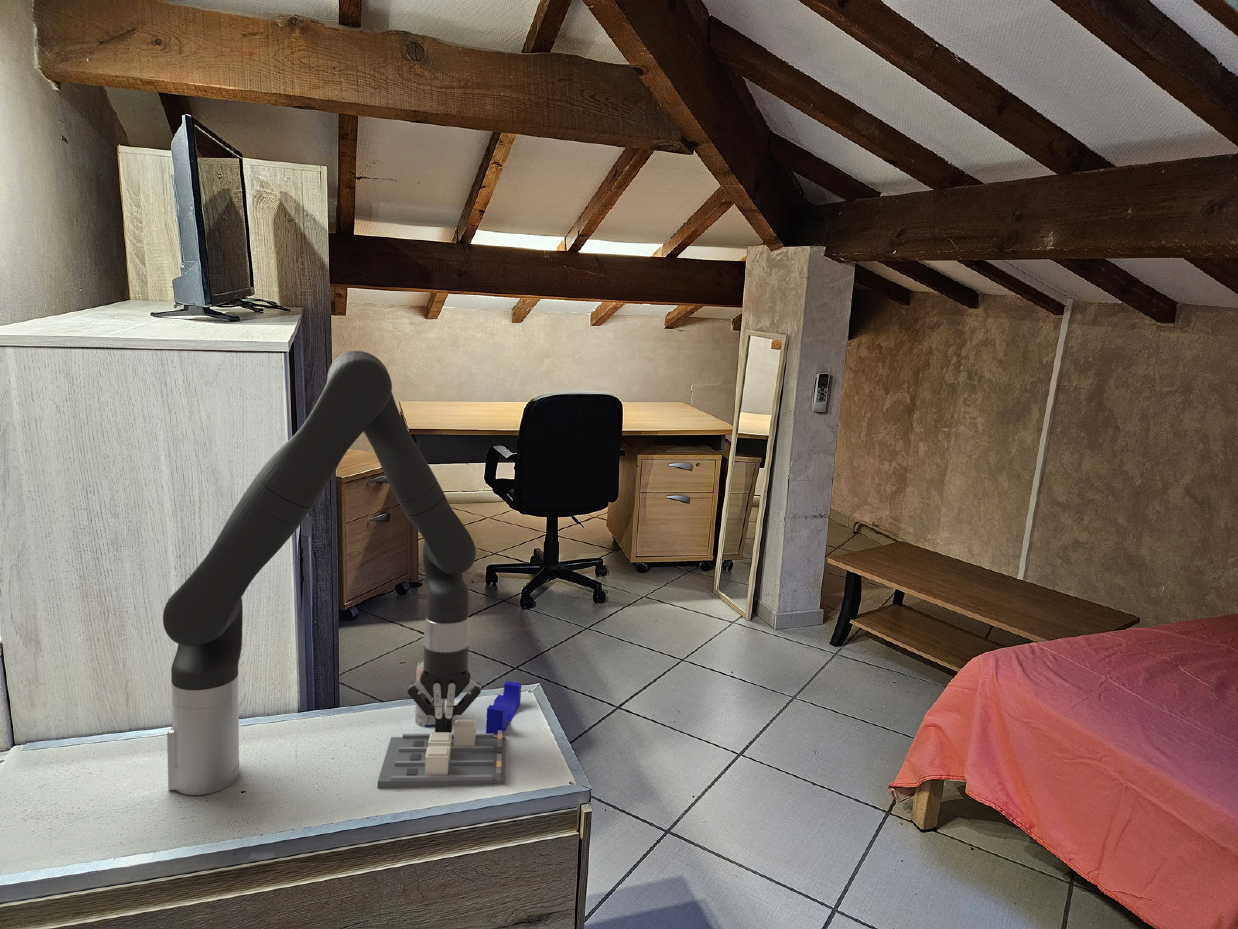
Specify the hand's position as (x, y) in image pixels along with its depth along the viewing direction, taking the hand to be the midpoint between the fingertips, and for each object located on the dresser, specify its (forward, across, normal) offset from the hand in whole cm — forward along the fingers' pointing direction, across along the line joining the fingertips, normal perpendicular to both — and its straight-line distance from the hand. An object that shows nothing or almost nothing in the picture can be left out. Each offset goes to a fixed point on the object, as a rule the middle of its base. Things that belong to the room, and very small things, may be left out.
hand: (443, 735), depth 136 cm
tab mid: (+1, 0, -5) cm, 5 cm away
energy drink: (+3, -3, +9) cm, 10 cm away
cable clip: (+3, +10, +10) cm, 14 cm away
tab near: (+1, 0, -9) cm, 9 cm away
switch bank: (+3, +1, -5) cm, 5 cm away
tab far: (+1, +4, 0) cm, 4 cm away
